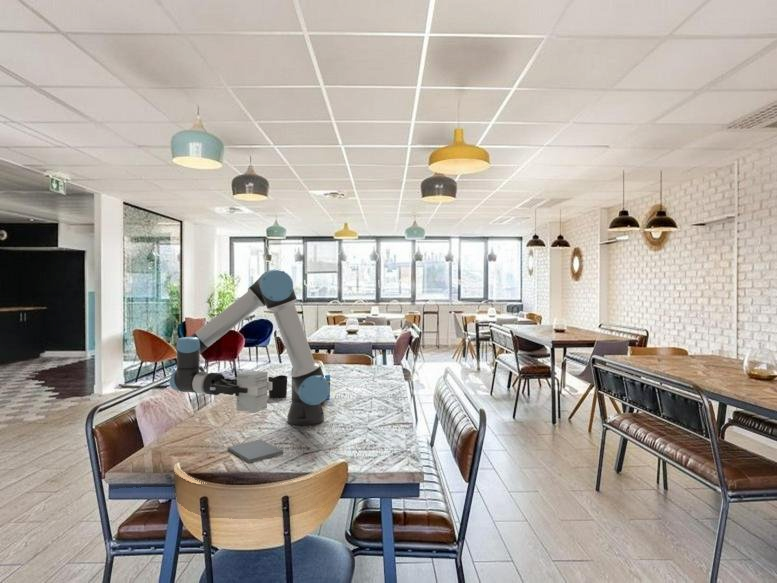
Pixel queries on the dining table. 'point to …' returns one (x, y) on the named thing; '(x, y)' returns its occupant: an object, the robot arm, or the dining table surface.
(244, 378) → the supplement box
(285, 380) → the pen holder
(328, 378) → the label tape box
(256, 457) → the slate mat
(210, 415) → the dining table surface
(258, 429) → the dining table surface
